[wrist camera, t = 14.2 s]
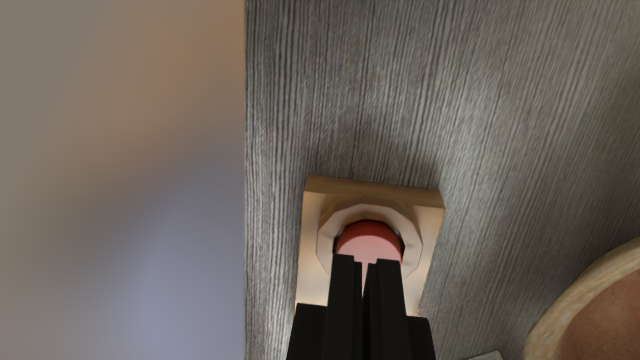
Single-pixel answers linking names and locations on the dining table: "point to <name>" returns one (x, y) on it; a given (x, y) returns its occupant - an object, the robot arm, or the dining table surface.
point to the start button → (369, 243)
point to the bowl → (594, 313)
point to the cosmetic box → (489, 356)
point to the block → (362, 205)
